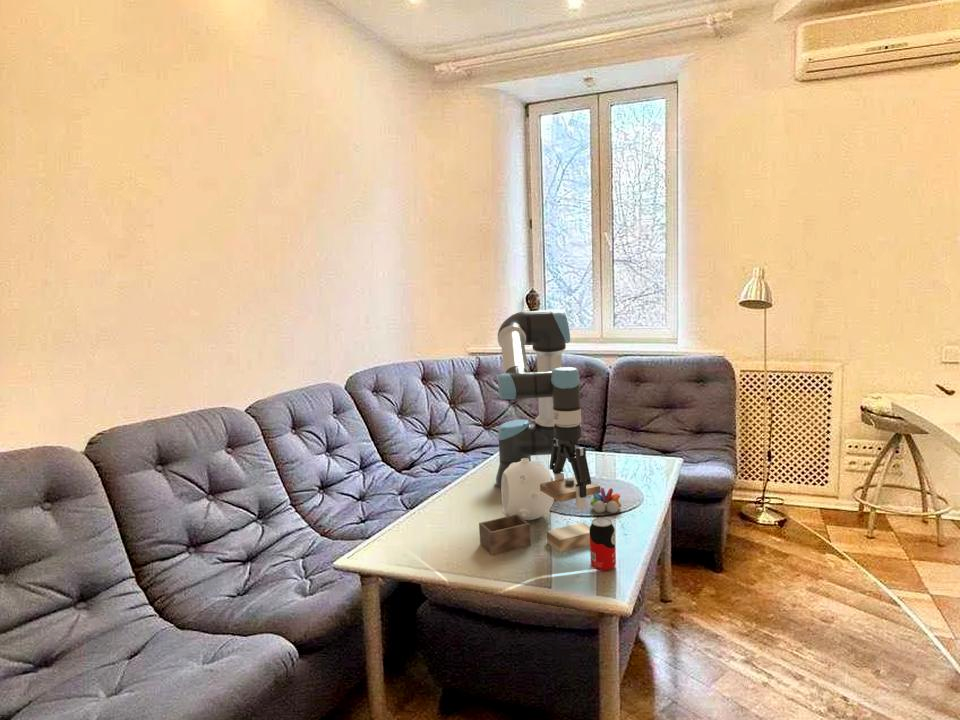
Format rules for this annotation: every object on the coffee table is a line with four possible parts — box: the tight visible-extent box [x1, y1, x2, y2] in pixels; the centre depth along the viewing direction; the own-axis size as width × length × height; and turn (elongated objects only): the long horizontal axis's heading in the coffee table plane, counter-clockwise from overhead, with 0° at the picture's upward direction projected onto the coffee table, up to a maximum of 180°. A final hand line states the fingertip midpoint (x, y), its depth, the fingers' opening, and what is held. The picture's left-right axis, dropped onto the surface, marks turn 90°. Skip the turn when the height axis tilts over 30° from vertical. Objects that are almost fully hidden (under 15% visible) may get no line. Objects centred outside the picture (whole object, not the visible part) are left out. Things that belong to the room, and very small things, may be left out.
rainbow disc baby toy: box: [590, 487, 622, 514], centre depth 190 cm, size 8×10×7 cm
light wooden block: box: [546, 522, 591, 553], centre depth 166 cm, size 12×7×4 cm, turn 113°
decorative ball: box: [500, 458, 555, 521], centre depth 184 cm, size 20×17×20 cm
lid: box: [540, 476, 601, 503], centre depth 164 cm, size 13×10×3 cm
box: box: [478, 515, 532, 556], centre depth 166 cm, size 12×8×7 cm, turn 113°
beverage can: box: [589, 517, 617, 572], centre depth 152 cm, size 6×6×12 cm
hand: (570, 501), depth 164 cm, fingers closed on lid, 10 cm apart
